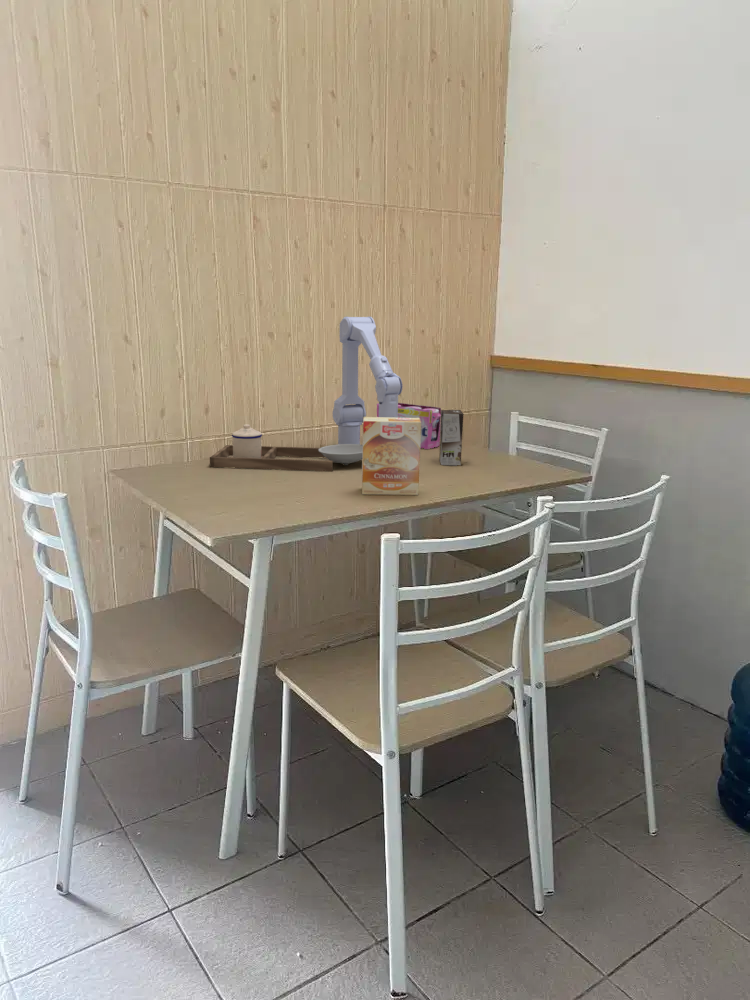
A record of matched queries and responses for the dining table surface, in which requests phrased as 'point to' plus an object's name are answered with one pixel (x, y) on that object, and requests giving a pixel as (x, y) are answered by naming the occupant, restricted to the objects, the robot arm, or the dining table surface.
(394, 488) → the coffeecake box
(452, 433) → the coffee box
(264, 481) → the dining table surface
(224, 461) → the caddy
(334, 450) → the dish
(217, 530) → the dining table surface
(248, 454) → the teacup with lid
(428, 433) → the gum box
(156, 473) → the dining table surface
